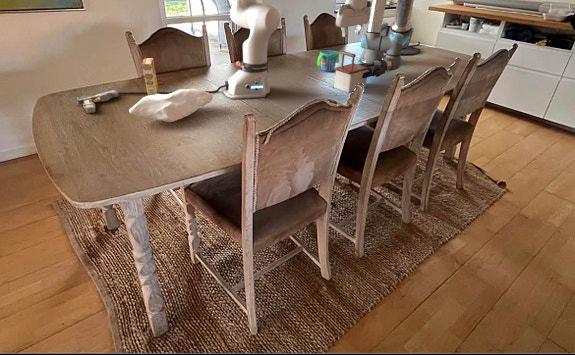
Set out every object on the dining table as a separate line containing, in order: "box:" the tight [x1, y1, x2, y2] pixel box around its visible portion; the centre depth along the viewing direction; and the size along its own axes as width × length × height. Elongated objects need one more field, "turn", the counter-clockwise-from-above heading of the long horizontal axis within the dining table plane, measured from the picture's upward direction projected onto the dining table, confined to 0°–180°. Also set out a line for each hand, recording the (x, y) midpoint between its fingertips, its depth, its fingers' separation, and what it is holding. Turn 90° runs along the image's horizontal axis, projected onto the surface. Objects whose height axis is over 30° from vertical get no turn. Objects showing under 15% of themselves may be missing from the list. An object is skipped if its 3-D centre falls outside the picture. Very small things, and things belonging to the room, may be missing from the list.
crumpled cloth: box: [129, 88, 214, 123], centre depth 147 cm, size 24×35×9 cm
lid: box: [334, 50, 368, 75], centre depth 179 cm, size 15×10×9 cm, turn 132°
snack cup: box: [316, 49, 340, 73], centre depth 207 cm, size 16×10×10 cm
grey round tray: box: [383, 46, 421, 55], centre depth 258 cm, size 35×35×9 cm
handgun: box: [76, 89, 120, 114], centre depth 155 cm, size 3×18×15 cm
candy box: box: [141, 57, 160, 96], centre depth 163 cm, size 9×4×15 cm, turn 13°
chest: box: [333, 70, 368, 93], centre depth 184 cm, size 14×10×9 cm
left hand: (350, 35), depth 170 cm, fingers open, 8 cm apart
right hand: (355, 73), depth 184 cm, fingers closed on chest, 9 cm apart
